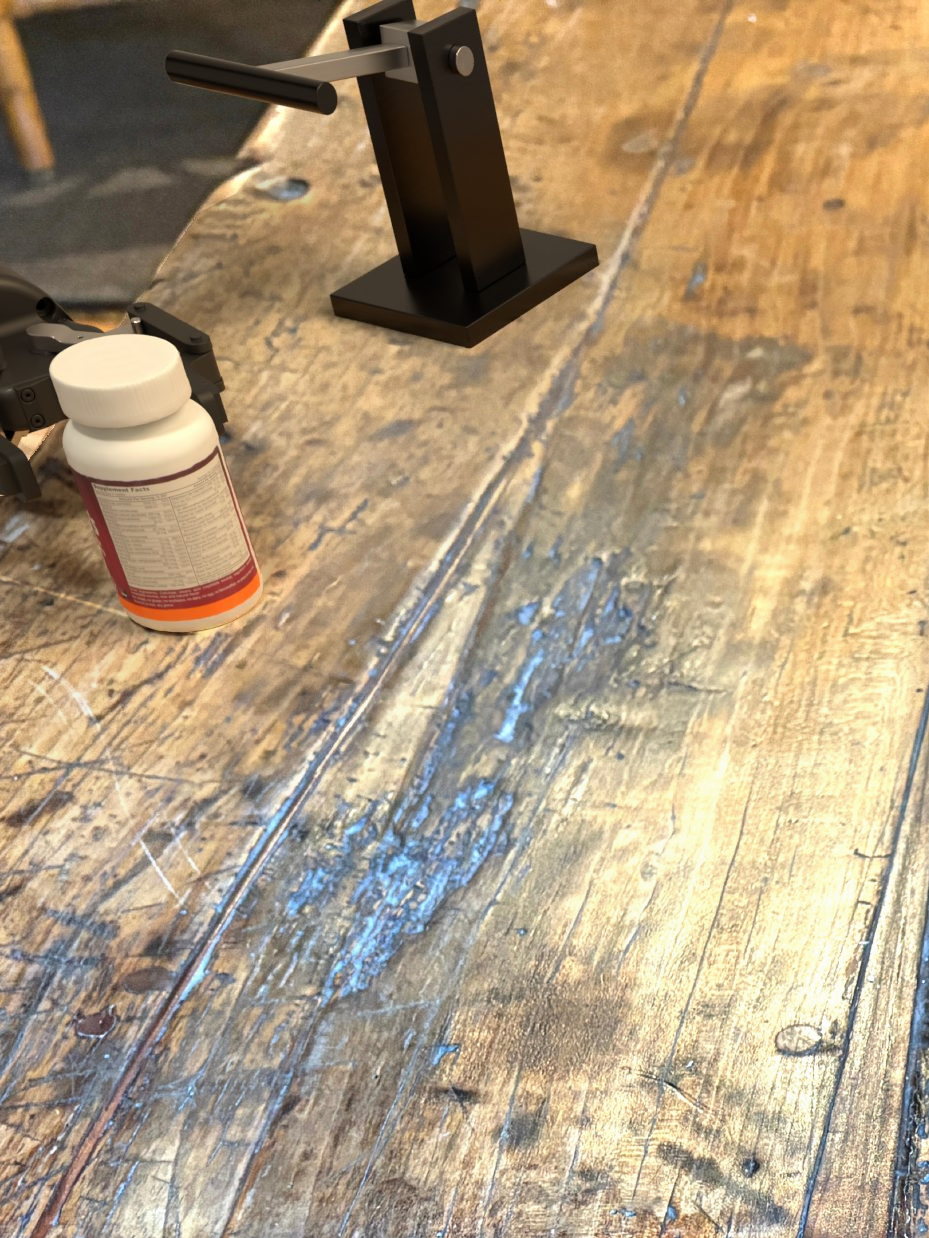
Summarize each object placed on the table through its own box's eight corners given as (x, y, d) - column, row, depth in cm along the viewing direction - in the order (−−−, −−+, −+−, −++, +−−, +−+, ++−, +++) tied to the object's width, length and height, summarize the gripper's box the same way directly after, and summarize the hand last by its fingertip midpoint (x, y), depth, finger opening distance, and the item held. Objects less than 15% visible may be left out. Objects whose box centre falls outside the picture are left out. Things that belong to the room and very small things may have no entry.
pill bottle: (137, 570, 102) (49, 329, 94) (276, 562, 103) (201, 323, 95) (113, 642, 98) (19, 396, 90) (258, 633, 99) (177, 389, 91)
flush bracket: (471, 351, 118) (407, 65, 108) (334, 318, 121) (259, 35, 110) (600, 267, 126) (552, -7, 116) (469, 237, 128) (410, -34, 118)
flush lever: (320, 128, 104) (312, 72, 103) (169, 95, 107) (159, 40, 105) (509, 88, 115) (504, 36, 114) (367, 59, 117) (361, 8, 116)
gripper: (-235, 292, 98) (-73, 417, 91) (74, 205, 105) (247, 315, 98) (-163, 451, 104) (-4, 583, 96) (126, 359, 111) (294, 474, 103)
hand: (123, 447), depth 97 cm, fingers open, 8 cm apart
